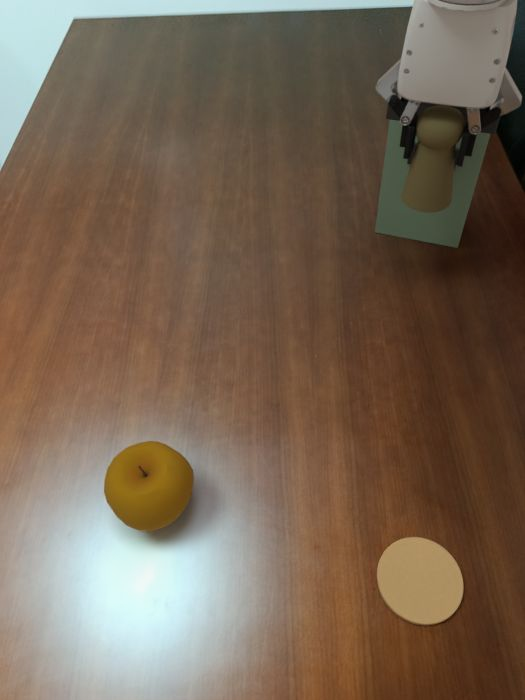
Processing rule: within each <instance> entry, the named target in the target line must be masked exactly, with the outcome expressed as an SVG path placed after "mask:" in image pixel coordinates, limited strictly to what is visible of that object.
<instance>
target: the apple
mask: <svg viewBox="0 0 525 700" xmlns="http://www.w3.org/2000/svg"><path fill="white" fill-rule="evenodd" d="M194 478H195V476H194V469H193V467H192V465H191V463H190V462H189V461H188V459H187V458H186V457H185V456H184V455H183V454H182V453H180V452H179V451H177V450H176V449H175V448H173V447H172V446H169V445H168V444H166V443H163V442H160V441H158V440H157V441H156V440H147V441H140V442H137V443H134V444H132V445H130V446H127V447H125V448H124V449H122V450H121V451H119V452H118V453H117V454H116V455H115V456H114V457H113V458H112V460H111V461H110V463H109V465H108V467H107V469H106V473H105V476H104V481H103V482H104V483H103V493H104V497H105V500H106V503H107V504H108V506H109V507H110V509H111V510H112V512H113V513H114V515H115V516H116V518H117V519H119V521H121V522H122V523H123V524H124V525H125V526H127V527H129V528H131V529H133V530H136V531H141V532H154V531H157V530H160V529H163V528H165V527H167V526H170V525H171V524H172V523H174V522H175V521H176V520H177V519H178V518H179V517H180V516H181V515H182V514H183V512H184V510H185V509H186V508H187V506H188V504H189V502H190V500H191V497H192V494H193V493H192V492H193V488H194V480H195V479H194Z"/></svg>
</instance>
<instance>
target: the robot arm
mask: <svg viewBox="0 0 525 700" xmlns="http://www.w3.org/2000/svg"><path fill="white" fill-rule="evenodd" d="M517 8H518V0H414V1H413V4H412V8H411V11H410V15H409V20H408V23H407V27H406V32H405V36H404V42H403V45H402V52H401V57H400V59H398V60H397V61H396V62H395V63H394V64H393V66H391V67H390V68H389V69H388V70H387V71H386V72H385V73H384V74H383V75H382V76H381V77H380V78H379V79H377V82H376V84H375V87H374V88H375V91H376V92H377V94H378V95H379V96H380V97H382V99H383V100H384V101H385V102H387V104H388V103H389V106H390V107H391V108H392V110H393V111H394V112H395V113H396V114H397V116H398V117H399V118H400V123H401V124H402V132H401V139H400V147H405V150H404V156H403V158H404V159H408V158H410V156H411V153H412V150H413V147H414V144H415V138H416V131H415V129H416V123H417V119H418V117H419V116H417V115H418V113H417V109H418V107H419V105H420V103H421V102H424V103H432V104H440V105H449V106H457V107H466V108H467V116H468V122H466V124H465V129H464V132H463V136H462V140H461V145H460V149H459V153H458V158H457V162H456V165H458V166H460V167H462V165H463V161H464V157H465V156H470V157H471V156H472V152H473V148H474V144H475V140H476V136H477V134H479V133H480V131H481V129H483V128H485V127H486V126H488V125H489V124H491V123H493V122H494V121H496V120H497V119H499V117H500V118H501V117H502V116H504V115H508V114H509V113H511V112H513V111H514V110H517V109H518V108H520V107H521V105H522V102H523V101H522V100H523V95H522V93H521V92H520V90H519V88H518V86H517V84H516V83H515V81H514V79H513V78H512V76H511V73H510V72H509V70H508V69H507V64H508V59H509V55H510V50H511V44H512V40H513V35H514V31H515V25H516V19H517V16H516V15H517V10H518V9H517ZM397 81H398V83H397V89H396V87H395V86H394V83H395V82H397ZM499 91H500V93H501V95H502V96H503V98H502V99H501V100H500V101H498V102H495V101H496V99H497V96H498V93H499ZM483 108H484V109H483ZM499 120H500V119H499Z"/></svg>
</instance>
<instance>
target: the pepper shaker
mask: <svg viewBox="0 0 525 700" xmlns="http://www.w3.org/2000/svg"><path fill="white" fill-rule="evenodd" d="M464 129H465V120H464V117H463V115H462V113H461V112H460V111H459V110H457V109H455V108H453V107H450V106H444V105H438V106H433V107H429V108H427V109H425V110H424V111H423V112H422V113H421V114H420V116H419V117H418V119H417V123H416V129H415V131H416V136H417V138H418V143H417V146H416V149H415V153H414V156H413V159H412V162H411V165H410V168H409V172H408V175H407V178H406V181H405V184H404V187H403V191H402V194H401V198H402V201H403V202H404V204H405V205H406V206H408V207H409V208H411V209H413V210H416V211H419V212H425V213H432V212H438V211H442V210H444V209H445V208H447V207H448V206H449V205H450V204H451V200H452V189H453V176H454V163H455V150H456V144H457V143H458V142H459V140H460V139H461V137H462V136H463V132H464Z"/></svg>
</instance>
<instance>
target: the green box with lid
mask: <svg viewBox="0 0 525 700" xmlns="http://www.w3.org/2000/svg"><path fill="white" fill-rule="evenodd" d="M397 83H398V81H397V82H395V83H394V86H395V87H396V89H397ZM502 98H503V96H502V95H501V93H500V91H499V93H498V96H497V99H496V101H495V102H498V101H500V100H501V99H502ZM438 105H440V104H432V103H424V102H421V103H420V105H419V107H418V109H417V113H418V115H417V116H420V114H421V113H422V112H423V111H424V110H425V109H427V108H429V107H433V106H438ZM444 106H449V105H444ZM450 107H453V108H455V109H457V110H459V111H460V112H461V113H462V115H463V117H464V120H465V124H466V122H468V116H467V108H466V107H457V106H450ZM483 109H484V108H483ZM385 114H386V115H385V119H386V120H389V124H388V131H387V138H386V146H385V154H384V161H383V168H382V175H381V183H380V189H379V196H378V197H379V198H378V204H377V213H376V219H375V227H374V233H376V234H382V235H386V236H387V235H388V236H390V237H391V236H392V237H398V238H402V239H407V240H413V241H418V242H423V243H429V244H434V245H440V246H445V247H450V248H455V249H458V248H459V245H460V241H461V238H462V235H463V231H464V227H465V224H466V220H467V216H468V213H469V210H470V206H471V203H472V201H473V196H474V193H475V189H476V185H477V182H478V180H479V179H478V178H479V176H480V172H481V169H482V165H483V161H484V157H485V154H486V151H487V147H488V144H489V141H490V137H491V135H496V132H497V129H498V125H499V122H500V118H501V116H500V117H499V119H497V120H496V121H494V122H493V123H491V124H489V125H488V126H486V127H485V128H483V129H481V131H480V133H479V134H477V136H476V140H475V144H474V148H473V152H472V156H471V157H470V156H465V157H464V161H463V165H462V167H460V166H458V165H456V162H457V158H458V153H459V149H460V145H461V140H462V137H461V139H460V140H459V142H458V143H457V144H456V150H455V163H454V176H453V189H452V200H451V204H450V205H449V206H448V207H447V208H445V209H444V210H442V211H438V212H432V213H425V212H419V211H416V210H413V209H411V208H409V207H408V206H406V205H405V204H404V202H403V201H402V198H401V194H402V191H403V187H404V184H405V181H406V178H407V175H408V172H409V168H410V165H411V162H412V159H413V156H414V153H415V149H416V146H417V143H418V138H417V136H416V138H415V144H414V147H413V150H412V153H411V156H410V158H408V159H404V158H403V156H404V150H405V147H400V139H401V132H402V124H401V123H400V118H399V117H398V116H397V114H396V113H395V112H394V111H393V110H392V108H391V107H390V106H389V103H388V102H387V107H386V113H385Z"/></svg>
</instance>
